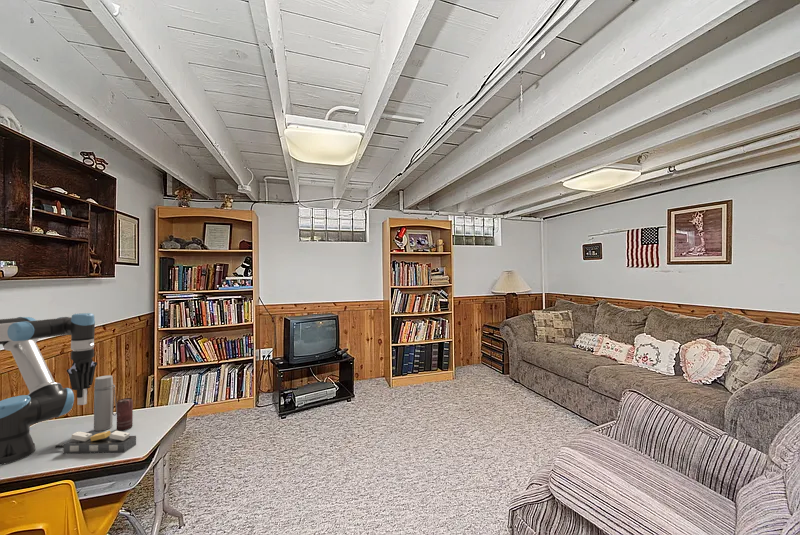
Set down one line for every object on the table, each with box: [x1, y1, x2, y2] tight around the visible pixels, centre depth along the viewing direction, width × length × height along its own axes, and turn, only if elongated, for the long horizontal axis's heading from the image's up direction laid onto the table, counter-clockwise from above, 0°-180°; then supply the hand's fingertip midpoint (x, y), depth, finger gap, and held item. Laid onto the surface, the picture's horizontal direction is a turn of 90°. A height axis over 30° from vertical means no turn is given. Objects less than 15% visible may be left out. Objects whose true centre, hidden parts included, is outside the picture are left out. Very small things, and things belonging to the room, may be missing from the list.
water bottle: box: [93, 375, 117, 432], centre depth 175 cm, size 9×8×25 cm
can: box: [116, 397, 134, 432], centre depth 174 cm, size 6×6×14 cm
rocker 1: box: [70, 431, 93, 441], centre depth 153 cm, size 6×3×2 cm, turn 92°
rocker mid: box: [90, 430, 112, 441], centre depth 153 cm, size 6×3×2 cm, turn 92°
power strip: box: [54, 435, 137, 455], centre depth 153 cm, size 31×7×4 cm, turn 92°
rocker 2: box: [110, 430, 131, 441], centre depth 154 cm, size 6×3×2 cm, turn 92°
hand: (82, 404), depth 153 cm, fingers closed
